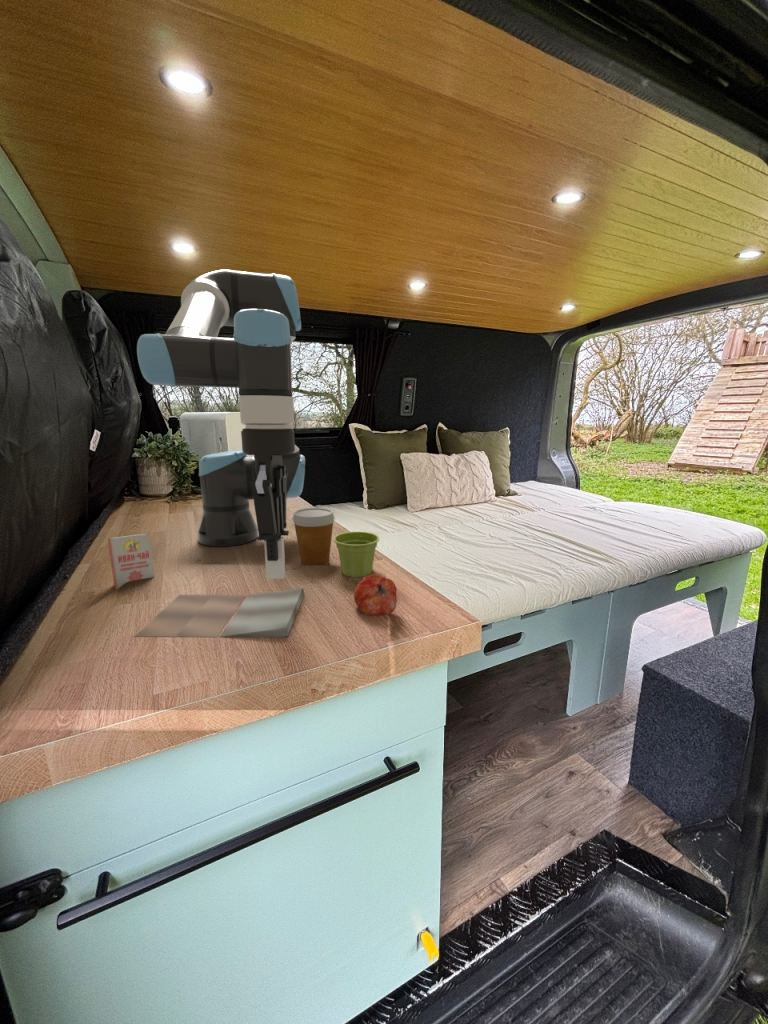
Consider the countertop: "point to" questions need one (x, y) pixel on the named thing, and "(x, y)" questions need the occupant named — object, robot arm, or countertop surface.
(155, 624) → the floorboard
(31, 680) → the countertop surface
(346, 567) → the plant pot
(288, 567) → the countertop surface
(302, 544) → the disposable coffee cup
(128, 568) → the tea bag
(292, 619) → the grey flat slab
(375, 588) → the pomegranate
